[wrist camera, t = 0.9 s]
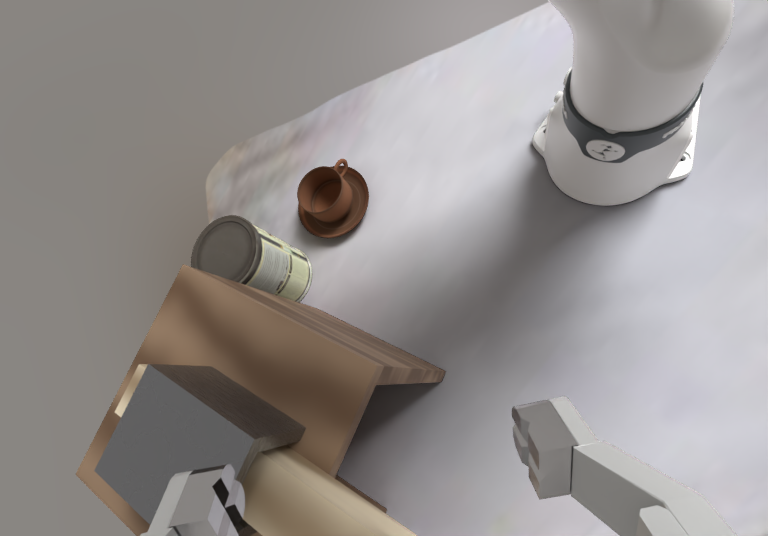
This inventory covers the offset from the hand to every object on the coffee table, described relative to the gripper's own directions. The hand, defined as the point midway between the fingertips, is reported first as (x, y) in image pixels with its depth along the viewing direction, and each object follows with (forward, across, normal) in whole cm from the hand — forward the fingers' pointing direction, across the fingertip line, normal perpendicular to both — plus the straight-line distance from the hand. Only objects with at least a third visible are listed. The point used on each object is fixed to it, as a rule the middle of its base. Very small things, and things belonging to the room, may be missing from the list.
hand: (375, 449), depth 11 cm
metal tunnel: (+15, +12, +13) cm, 23 cm away
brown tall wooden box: (+34, +7, +30) cm, 46 cm away
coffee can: (+50, +14, +17) cm, 55 cm away
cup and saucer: (+55, +4, +8) cm, 55 cm away
